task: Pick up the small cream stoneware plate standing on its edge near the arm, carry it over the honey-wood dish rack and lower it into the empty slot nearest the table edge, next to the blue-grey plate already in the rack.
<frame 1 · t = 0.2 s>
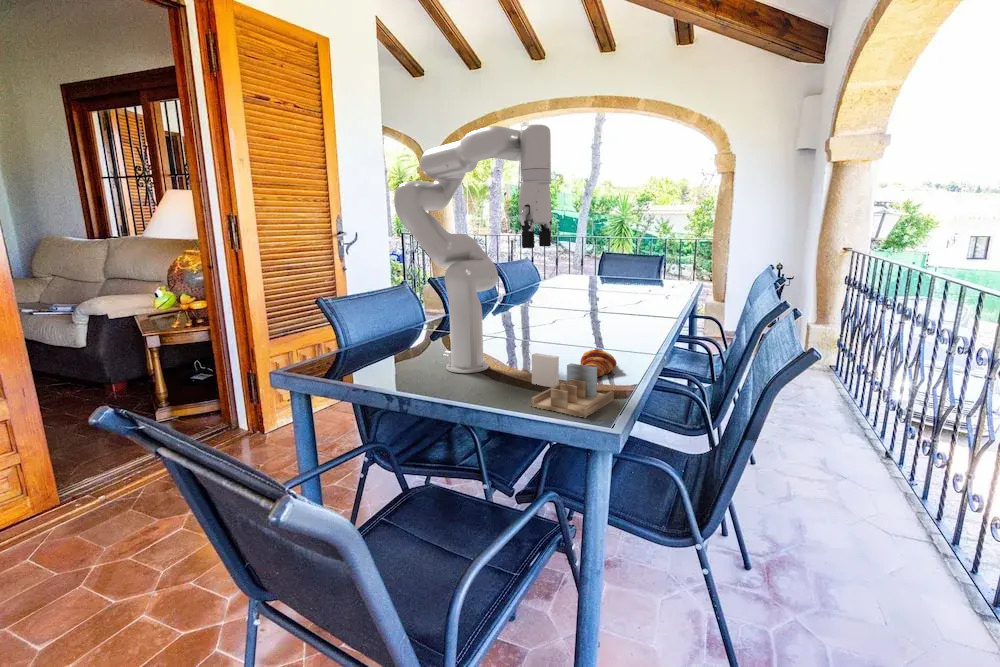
hand: (536, 247, 134), 36 cm above the table, tool pointing down, fingers open, 9 cm apart
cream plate: (545, 384, 138), on the table
dish rack: (572, 403, 124), on the table
croissant: (598, 371, 151), on the table
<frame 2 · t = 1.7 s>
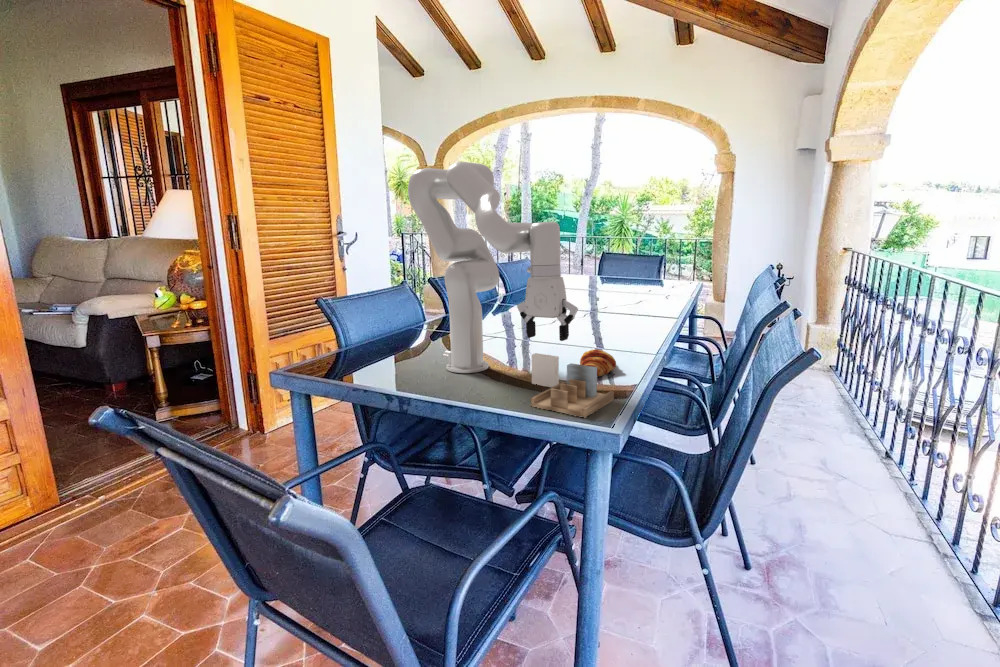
hand: (547, 338, 135), 13 cm above the table, tool pointing down, fingers open, 9 cm apart
nothing on the table moved.
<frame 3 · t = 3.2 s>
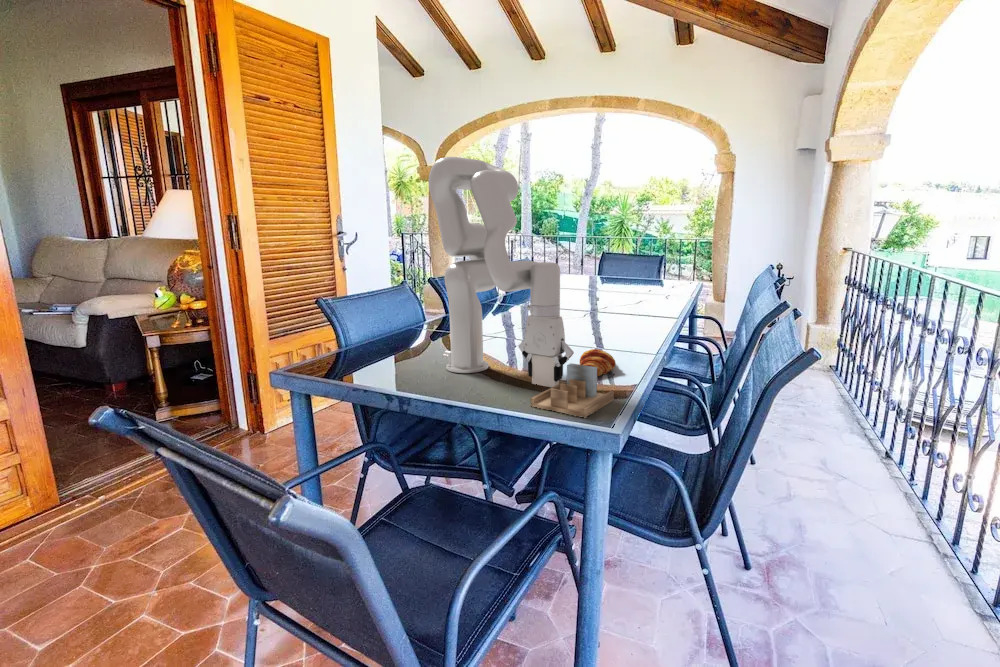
hand: (545, 377, 138), 2 cm above the table, tool pointing down, fingers closed on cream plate, 7 cm apart
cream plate: (545, 384, 138), on the table, touching gripper
everything else where it was.
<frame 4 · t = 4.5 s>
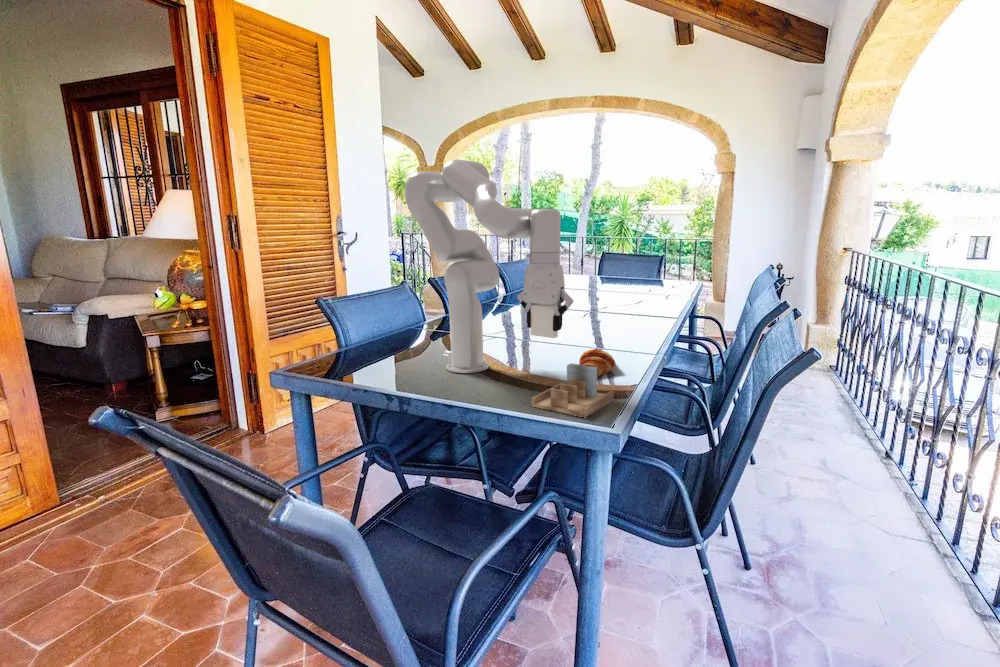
hand: (544, 328, 135), 15 cm above the table, tool pointing down, fingers closed on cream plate, 7 cm apart
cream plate: (543, 335, 136), point 13 cm above the table, touching gripper
everything else where it was.
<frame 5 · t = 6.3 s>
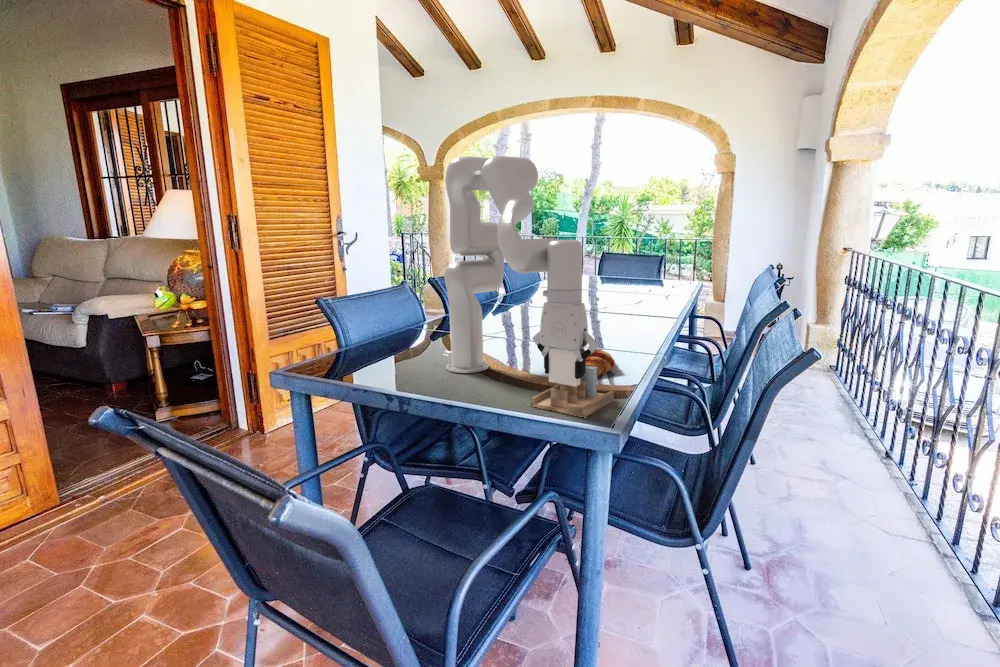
hand: (564, 374, 118), 8 cm above the table, tool pointing down, fingers closed on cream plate, 7 cm apart
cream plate: (564, 382, 119), point 6 cm above the table, touching gripper
everything else where it was.
when the fingers open (4 cm above the table, at t = 7.7 s): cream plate drops 1 cm, resting on dish rack.
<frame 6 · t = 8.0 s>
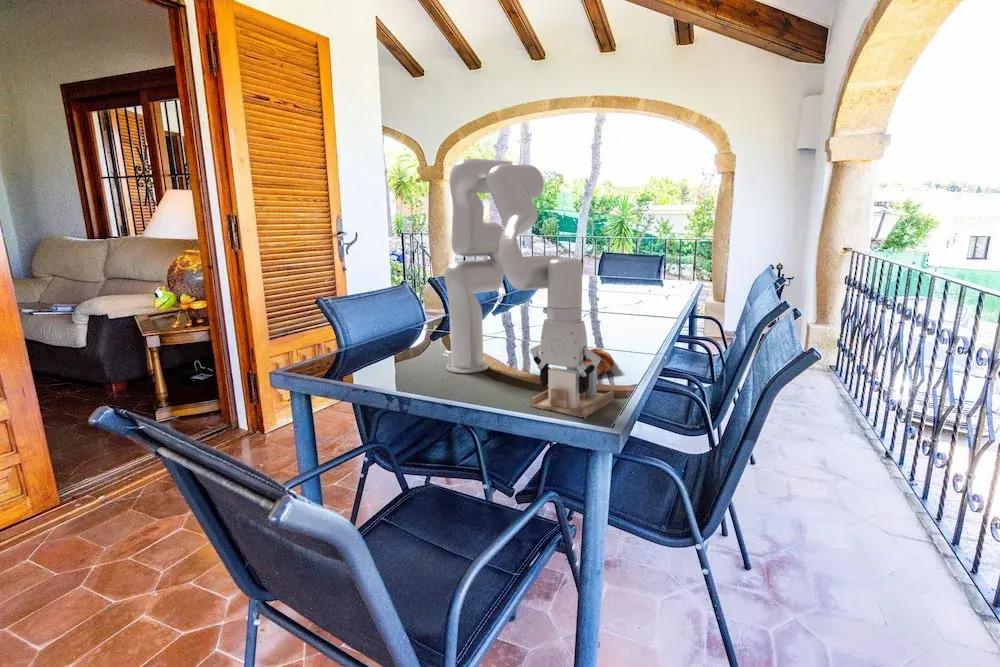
hand: (564, 388, 119), 5 cm above the table, tool pointing down, fingers open, 9 cm apart
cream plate: (563, 404, 120), point 1 cm above the table, touching dish rack
everything else where it was.
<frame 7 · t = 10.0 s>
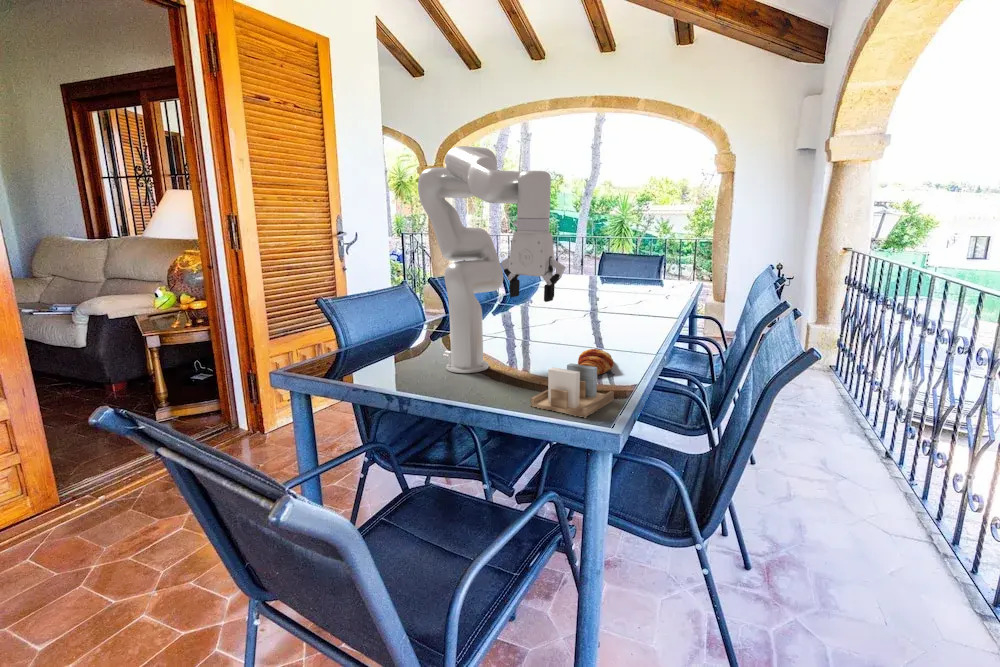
hand: (531, 298, 126), 24 cm above the table, tool pointing down, fingers open, 9 cm apart
nothing on the table moved.
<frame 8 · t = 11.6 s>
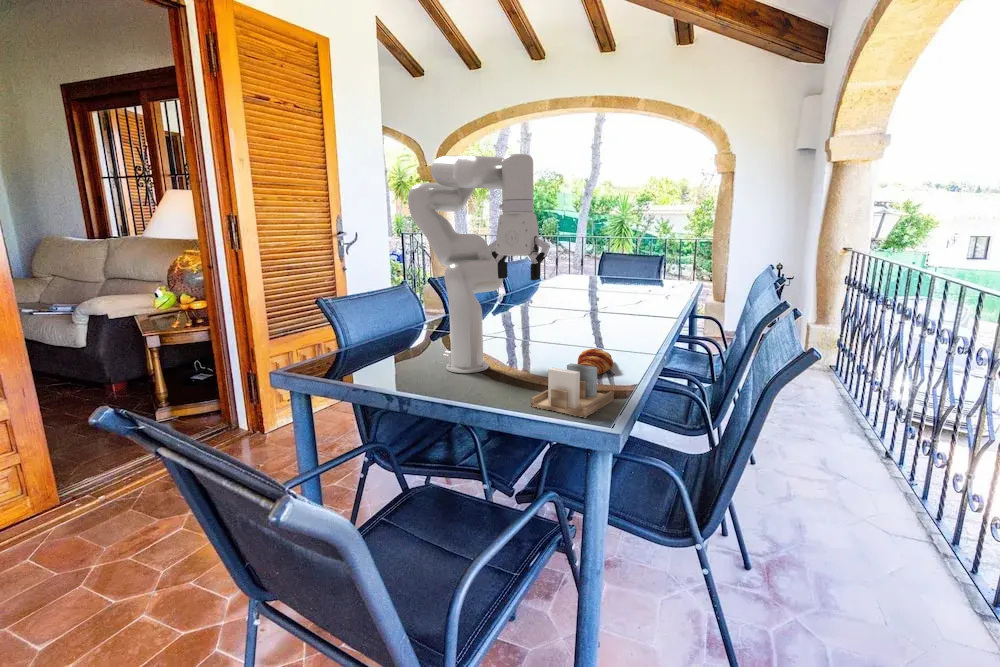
hand: (518, 279, 130), 28 cm above the table, tool pointing down, fingers open, 9 cm apart
nothing on the table moved.
at the end: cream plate 0.1 cm from the target spot on the dish rack, point 1.0 cm above the dish rack's base; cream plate tilted 0°; the gripper is holding nothing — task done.
